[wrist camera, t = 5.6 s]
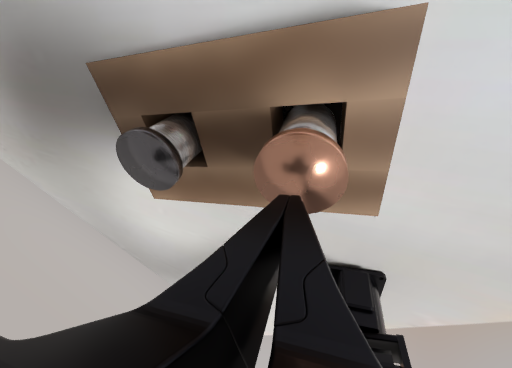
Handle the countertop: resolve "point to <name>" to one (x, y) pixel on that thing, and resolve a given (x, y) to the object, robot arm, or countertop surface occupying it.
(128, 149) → the grey plug
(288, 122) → the copper capped plug
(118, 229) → the countertop surface
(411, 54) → the socket block
